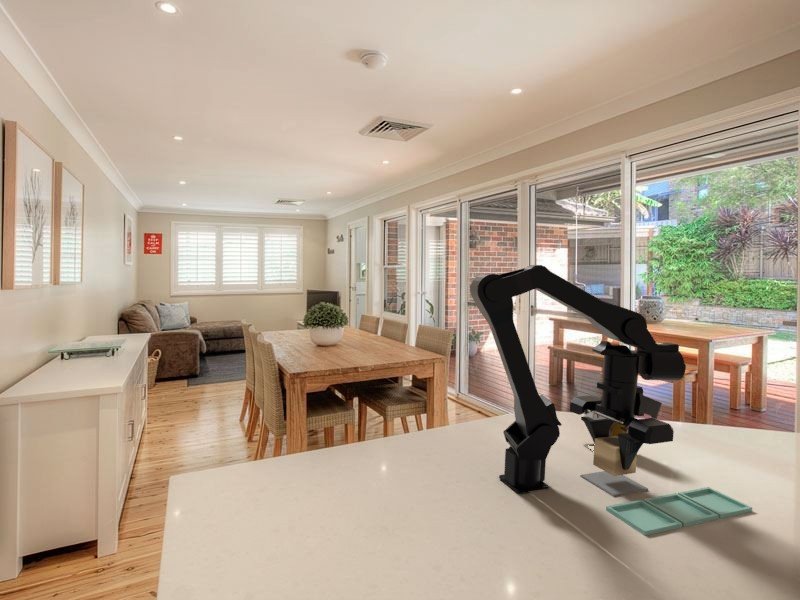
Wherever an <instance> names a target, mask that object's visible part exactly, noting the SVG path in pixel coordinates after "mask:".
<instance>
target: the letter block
mask: <svg viewBox="0 0 800 600" xmlns="http://www.w3.org/2000/svg"><path fill="white" fill-rule="evenodd" d="M637 456H638V453H637V454H636V456H635V458H634V460H633V462H632V464H631V466H630V468H629V469H628V470H624V469H623V468H622V464H621V457H620V448H619V440H618V437H617V436H610V437H602V438H595V445H594V453H593V461H592V462H593V464H592V465H594V466H595V467H597V468H599V469H600V470H602V471H606V472H608V473H609V474H611V475H613V476H618V475H624V476H625V475H630V474H635V473H636V472H637V460H638V459H637V458H638V457H637Z"/></svg>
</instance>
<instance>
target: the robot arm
mask: <svg viewBox="0 0 800 600" xmlns="http://www.w3.org/2000/svg"><path fill="white" fill-rule="evenodd" d="M532 290H536V291H538V292H539V293H542V294H543V295H545V296H546V297H549V298H550V299H552V300H554V301H555V302H558V303H559V304H561V305H562V306H564V307H566V308H568V309H569V310H572V311H573V312H575V313H576V314H579V315H580V316H581V317H583V318H585V319H586V320H587V321H589V323H590V324H591V325H592V326H593V327H594V328H595V329H596V330H597V331H599V332H600V333H601V334H602V335H603V336H605V337H606V338H608V339H611V340H613V341H616V342H620V343H622V344H611V343H610V341H607V340H605V339H603V340H601V341H600V343H599V344H597V345H596V346H594V347H592V352H593V353H596V354H599V355H600V356H603V366H602V367H603V368H602V381H601V382H596V388H597V389H599V390H601V397H600V398H599V397H598V396H594V395H584V396H583V395H581V396H574V397H573V398H572V399H571V400H570V401H569V412H572V413H573V414H577V415H580V416H581V415H582V414H584V416H581V417H580V420H581V421H582V422H584V425H585V426H586V428H587V431H588V433H589V434H590V437H591V439H592V442H593V444H595V438H602V437H609V430H610V427H611V426H612V424H613V423H614V422H617V423H619V424H622V425H624V426H626V427H628V430H627V433H621V434H618V440H619V448H620V457H621V464H622V468H623V469H624V470H628V469H629V468H630V466H631V464H632V462H633V460H634V458H635V456H636V454H637V455H638V452H639V450H640V449H641V448H642V446H643V445H644V444H646V445H647V444H648V445H654V444H655V445H656V444H662V443H668V442H673V441H674V433H675V431H674V428H673V427H672V425H671V423H668V422H665V421H662V420H660V419H657V418H658V416H659V414H660V411H661V407H662V405H663V403H662V402H661V401H659V400H656V399H653V398H651V397H648V396H646V395H644V389H643V387H642V386H641V385H640V386H639V385H638V382H639V381H638V380H639V376H640V377H641V378H642V379H643V380H644V381H670V382H671V381H673V382H675V381H677V382H678V381H680V380H681V379H683V378H684V376H685V373H686V367H687V365H686V364H685V359H684V357H683V354H682V353H681V352H680V351H679V350H680V345H679V344H678V343H674V342H663V343H657V342H656V340H655V338H654V337H653V335H652V334H651V332H650V331H649V329H648V324H647V319H646V318H645V316H644V315H642V314H641V313H640V312H637V311H634V310H631V309H628V308H626V307H622V306H619V305H617V304H614V303H613V304H612V303H609V302H606V301H603V300H602V299H599V298H598V297H596V296H594V295H593V294H591V293H589V292H587V290H584V289H582V288H580V287H578V286H577V285H576V284H573V283H572V282H570V281H568V280H567V279H565V278H563V277H561V276H559V275H558V274H556V273H554V272H552V271H550V269H548V268H547V267H546V266H544V265H542V264H530V265H527V266H526V267H524V268H523V267H522V268H519V269H517V270H512V271H507V272H503V273H500V274H497V273H485V272H484V273H481V274H479V275H477V276H476V277H475V278H473V279H472V281H471V284H470V286H469V292H470V296H471V298H472V300H473V302H474V304H475V305H476V306H477V307H476V308H478V310H479V311H478V312H480V314H481V315H482V316H483V317H482V318H484V320H485V321H486V323H487V324H488V326H489V328H490V331H491V333H492V336H493V340H494V342H495V345H496V348H497V351H498V354H499V356H500V361H501V362H502V365H503V368H504V371H505V375H506V376H507V379H508V382H509V385H510V389H511V391H512V394H513V402H514V403H513V411H514V412H513V413H514V418H515V420H514V421H513V422H512V423H511V424H510V425H509V426H508V427H507V428H506V429H505V430H503V436H504V438H505V442H506V443H507V444H508V445H509V447H508V448H505V453H504V454H505V455H504V474H499V476H498V478H499V479H500V480H501V481H502V482H503V483H505V484H506V485H507V486H508V487H510V488H511V490H513V491H514V492H516V493H517V494H524V493H525V494H526V493H530V492H535V491H541V490H548V489H549V488H550V487H549V484H547V482H546V483H545V482H544V481H546V461H547V458H548V455H549V453H550V451H551V450H552V449H551V448H552V446H554V444H556V442H557V441H558V439H559V438H560V427H559V426H562V425H563V424H562V422H560V421H559V418H558V416H557V410H556V407H555V403H554V402H552V401H551V400H550V399H548V398H547V397H546V396H544V395H543V394H540V395H539V391H538V390H537V386H536V383H535V380H534V378H533V375H532V371H531V369H530V365H529V363H528V360H527V357H526V354H525V350H524V349H523V345H522V342H521V339H520V337H519V334H518V331H517V328H516V325H515V322H514V300H513V298H515V297H518V296H521V295H523V294H526V293H529V292H530V291H532ZM628 346H631V347H633V348H637V349H636V350H633V349H630V348H629V347H628ZM645 415H647V416H650V417H647V418H639V419H638V418H636V417H644V416H645ZM623 419H624V420H623Z"/></svg>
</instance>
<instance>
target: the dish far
mask: <svg viewBox="0 0 800 600" xmlns="http://www.w3.org/2000/svg"><path fill="white" fill-rule="evenodd" d="M677 494H679V495H681V496H682V497H684V498H686V499H688V500H690V501H692V502H694V503H696V504H698V505H700V506H702V507H704V508H706V509H708V510H710V511H712V512H714V513H715V514H717V515H719V516H718V519H725V518H729V517H733V516H737V515H743V514H745V513H752V512H753V507H752V506H750V505H748V504H745V503H743V502H741V501H739V500H737V499H736V498H733V497H731V496H729V495H726V494H725V493H722V492H720V491H718V490H715V489H714V488H712V487H709V486H706V487H702V488H696V489H690V490H686V491H680V492H678V493H677Z"/></svg>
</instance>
